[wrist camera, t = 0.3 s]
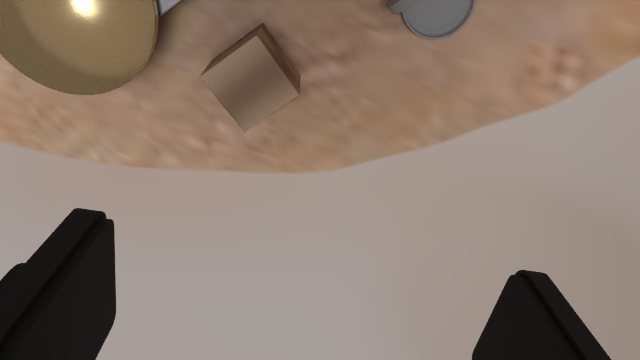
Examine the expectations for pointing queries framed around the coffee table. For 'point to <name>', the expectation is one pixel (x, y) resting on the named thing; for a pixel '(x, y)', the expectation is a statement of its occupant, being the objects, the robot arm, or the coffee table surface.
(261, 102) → the walnut block
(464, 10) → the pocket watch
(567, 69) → the coffee table surface
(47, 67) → the balance
